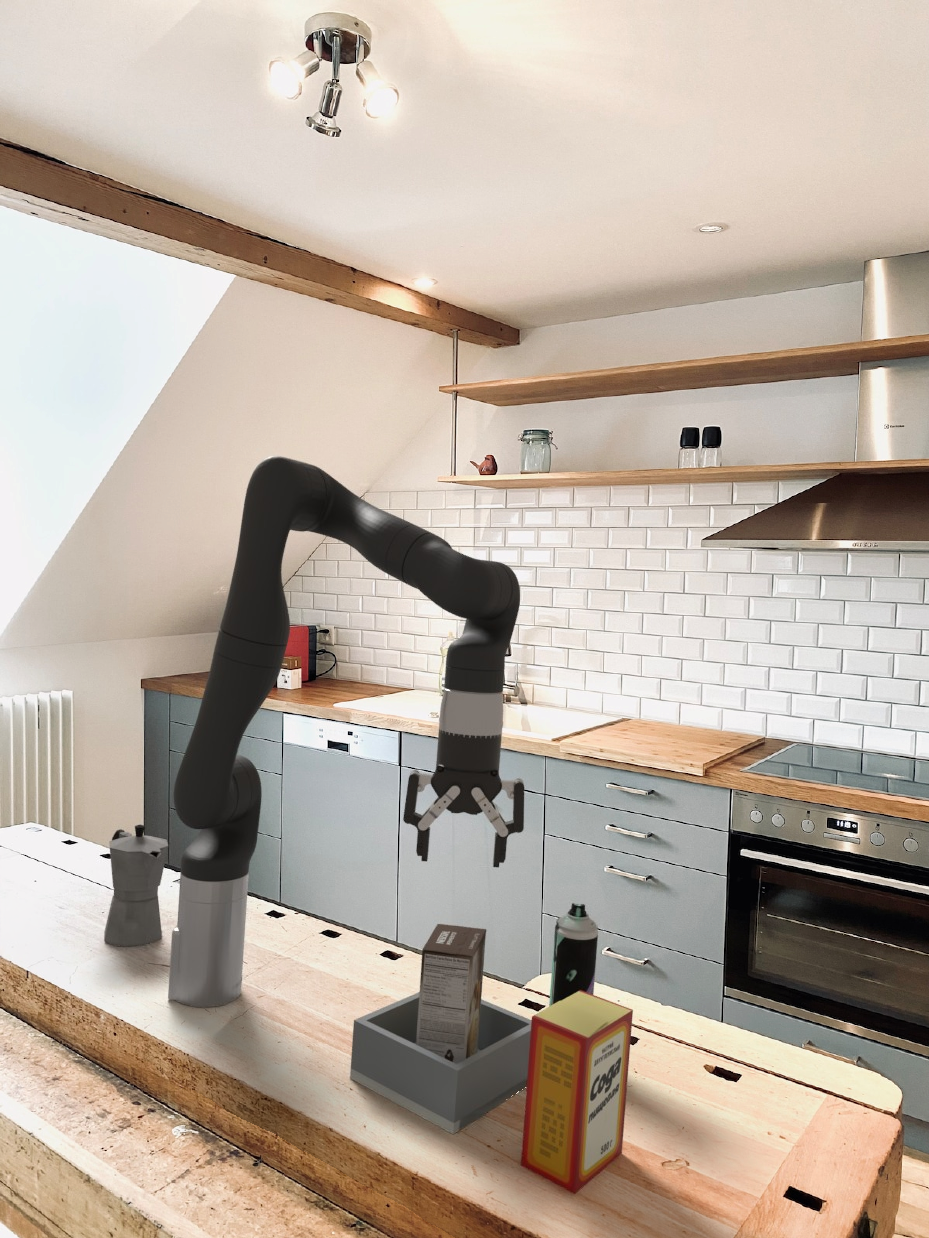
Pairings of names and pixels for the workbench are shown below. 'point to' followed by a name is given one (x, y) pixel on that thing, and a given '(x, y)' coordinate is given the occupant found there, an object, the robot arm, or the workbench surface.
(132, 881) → the coffeepot
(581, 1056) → the baking soda box
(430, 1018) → the coffee box
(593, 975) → the spray can
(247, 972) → the workbench surface
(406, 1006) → the tote
